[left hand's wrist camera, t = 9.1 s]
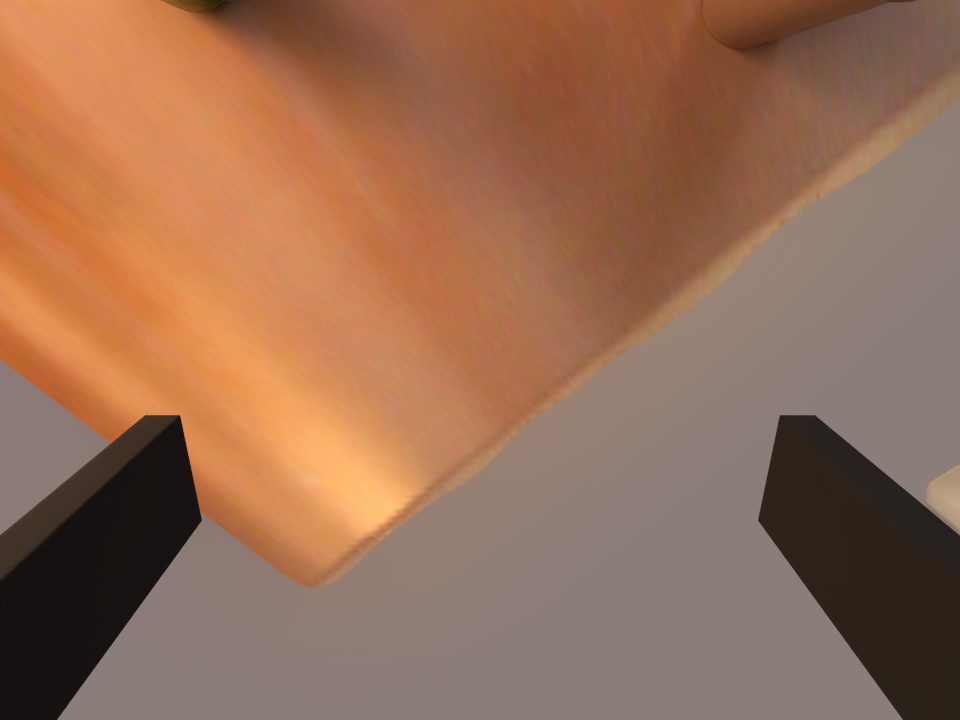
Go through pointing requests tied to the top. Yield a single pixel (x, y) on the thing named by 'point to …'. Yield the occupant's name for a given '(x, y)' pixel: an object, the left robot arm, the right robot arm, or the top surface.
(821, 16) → the screw-top jar
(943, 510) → the right robot arm
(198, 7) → the soda can
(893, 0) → the lid
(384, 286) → the top surface
